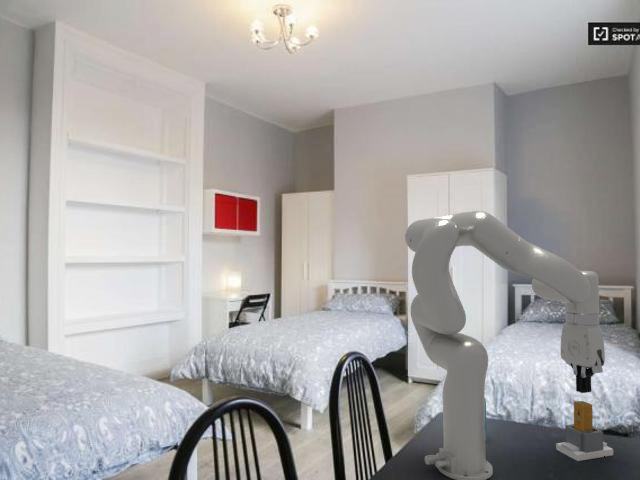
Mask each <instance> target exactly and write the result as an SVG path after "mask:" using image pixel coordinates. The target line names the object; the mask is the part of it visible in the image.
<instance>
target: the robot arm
mask: <svg viewBox="0 0 640 480" xmlns="http://www.w3.org/2000/svg"><path fill="white" fill-rule="evenodd" d="M404 239H405V243H406V246H407V247H408V248H409V249H410V250H411V251H412V252H415V253H414V255H413V259H412V263H411V264H412V265H411V276H412V283H413V284H414V288H415V290H416V293H417V295H416V296H414V298H413V299H412V302H411V304H410V317H411V321H412V324H413V326H414V329H415V331H416V334H417V336H418V338H419V340H420V342H421V345H422V349H424V352H425V355H426V356H427V357H428V359H429V360H430V361H431V362H432V363H433V364H435V365H436V366H438V367H440V368H442V369H444V370H446V377H445V379H444V383H443V385H442V433H443V435H442V436H443V443H442V444H443V447H439V452H437V453H436V454H429V455H428V454H427V455H425V456H424V462H425V464H426V465H434V466H435V467H436V468H437V469H438V471H439V472H440V473H441V474H442V475H444V476H445V477H447V478H450V479H452V480H488V479H489V478H491V477H492V476H493V473H494V471H493V470H494V467H493V465H492V464H491V463H490V461H489V460H487V459H486V440H485V399H486V397H485V390H486V379H487V372H488V366H489V354H488V351H487V349H486V348H485V346H484V345H483V343H481V342H480V341H479V340H477V338H474V337H472V336H470V335H467V334H463V333H461V331H462V330H463V329H464V328H465V326H466V322H467V317H466V316H467V314H466V311H465V309H464V306H463V304H462V301H461V299H460V297H459V294H458V292H457V290H456V289H457V288H456V287H455V284H454V282H453V280H452V276H451V272H450V261H451V258H452V255H453V253H454V251H455V249H456V248H457V247H463V246H464V247H467V246H470V247H473V248H475V249H476V250H478V251H479V252H480V253H481V254H483V255H485V256H486V257H487V258H489V259H490V260H491V261H493V262H494V263H495V264H497V265H498V266H500V268H502V269H503V270H506V271H508V272H510V273H514V274H516V275H520V276H524V277H527V278H530V279H532V281H531V288H532V291H533V293H534V294H535V295H536V296H537V297H539V298H540V299H543V300H547V301H554V302H561V303H564V304H565V313H564V317H565V322H563V325H562V328H561V329H562V330H561V337H560V358H561V359H562V360H563V361H564V362H565V364H567V365H568V366H569V367H571V369H572V370H573V371H572V372H573V375H575V387H576V388H575V389H576V392H578V393H580V394H586V393H591V392H592V377H594V375H595V374H601V373H603V371H604V370H603V366H604V365H605V362H606V359H605V358H606V353H605V351H606V349H605V343H604V342H605V341H604V340H605V339H604V335H603V331H602V330H603V329H602V327H601V326H600V294H599V292H600V291H599V286H600V285H599V282H600V281H599V275H598V273H596V272H595V271H591V270H580V269H578V268H577V267H575V265H573V264H572V263H570V262H569V261H567V260H566V259H564V258H562V257H561V256H558V255H557V254H555V253H552V252H550V251H548V250H546V249H545V248H544V249H543V248H542V247H539V246H538V245H535V244H534V243H531V242H529V241H527V240H526V239H524V238H523V237H521V236H520V235H519V234H518V233H516V232H515V231H514V230H512V229H511V228H510V227H508V226H507V225H505V224H504V223H503V222H502V221H500V220H499V219H497V218H496V216H494V215H492V214H491V213H488V212H487V211H484V210H473V211H465V212H458V213H454V214H448V215H444V216H438V217H431V218H424V219H418V220H415V221H413V222H412V223H411V224H410V225H408V227H407V229H406V232H405V233H404Z"/></svg>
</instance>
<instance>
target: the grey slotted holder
mask: <svg viewBox="0 0 640 480" xmlns="http://www.w3.org/2000/svg"><path fill="white" fill-rule="evenodd" d="M555 450H556V451H559V452H560V453H562V454H564V455H566V456H568V457H569V458H572V459H573V460H575V461H576V462H581V461H586V460H592V459H597V458H604V456H605V457H609V456H610V457H611V456H614V449H613V448H612V447H610V446H608V443H607V442H605V441H604V431H602V430H601V429H599V428H598V427H594V426H593V432H586V433H583V432H581V431H579V430H577V429H575V428H574V423H571V424H565V441H564V442H558V443H557V442H556V443H555Z"/></svg>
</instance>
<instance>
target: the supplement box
mask: <svg viewBox="0 0 640 480" xmlns="http://www.w3.org/2000/svg"><path fill="white" fill-rule="evenodd" d="M593 418H594V417H593V404H592V403H589V402H586V401H583V400H577V401H574V402H573V424H574V428H575V429H577V430H579V431H581V432H583V433H586V432H593V427H594V426H593Z"/></svg>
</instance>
